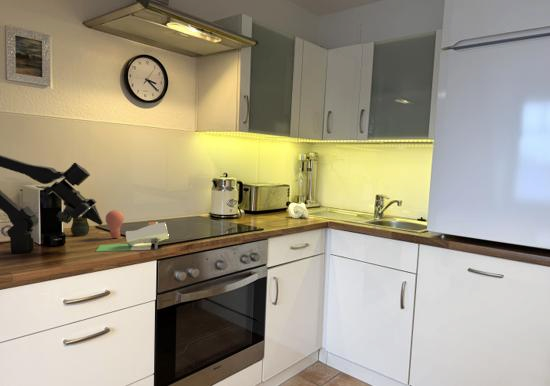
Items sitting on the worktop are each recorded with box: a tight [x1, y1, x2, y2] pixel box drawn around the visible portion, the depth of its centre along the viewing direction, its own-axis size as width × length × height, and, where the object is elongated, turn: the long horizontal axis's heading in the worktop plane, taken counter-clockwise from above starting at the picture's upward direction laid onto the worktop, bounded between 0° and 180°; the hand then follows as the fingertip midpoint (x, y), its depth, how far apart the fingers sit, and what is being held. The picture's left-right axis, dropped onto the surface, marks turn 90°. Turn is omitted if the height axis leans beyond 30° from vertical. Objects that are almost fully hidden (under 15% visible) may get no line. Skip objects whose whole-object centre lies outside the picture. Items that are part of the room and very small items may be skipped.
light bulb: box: [105, 209, 125, 239], centre depth 163 cm, size 7×7×12 cm
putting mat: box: [95, 221, 159, 253], centre depth 147 cm, size 22×10×9 cm, turn 106°
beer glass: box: [125, 221, 170, 247], centre depth 149 cm, size 7×7×15 cm
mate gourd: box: [70, 215, 90, 237], centre depth 167 cm, size 7×8×10 cm
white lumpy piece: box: [288, 202, 309, 219], centre depth 234 cm, size 11×12×9 cm
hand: (101, 224), depth 144 cm, fingers closed
